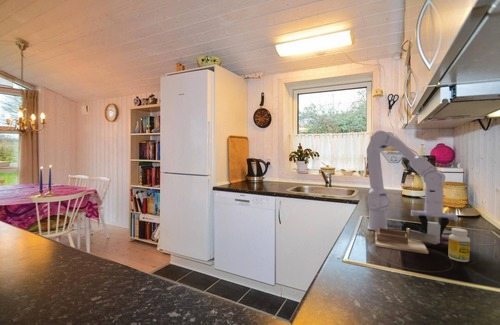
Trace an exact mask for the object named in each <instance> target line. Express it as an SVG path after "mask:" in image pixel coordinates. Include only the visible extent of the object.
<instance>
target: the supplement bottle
mask: <svg viewBox="0 0 500 325" xmlns="http://www.w3.org/2000/svg"><path fill="white" fill-rule="evenodd" d="M468 235H469V231H468V229H465V228H464V229H463V228H460V227H459V228H458V227H451V234H449V235H448V250H447V251H448V253H447V254H448V257H449V259H450V260H454V261H456V262H461V263H468V262H470V256H471V253H470V252H471V238H470V237H469V236H468Z"/></svg>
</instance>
